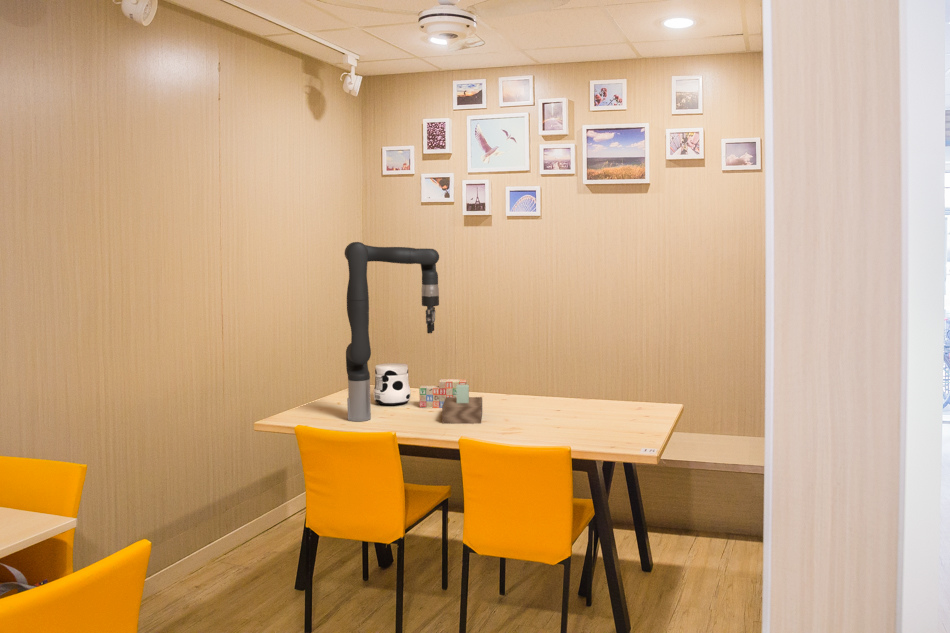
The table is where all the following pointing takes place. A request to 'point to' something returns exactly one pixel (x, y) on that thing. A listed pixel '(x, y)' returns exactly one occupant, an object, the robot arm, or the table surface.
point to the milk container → (391, 384)
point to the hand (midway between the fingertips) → (430, 332)
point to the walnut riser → (462, 410)
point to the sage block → (462, 393)
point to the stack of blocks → (439, 392)
